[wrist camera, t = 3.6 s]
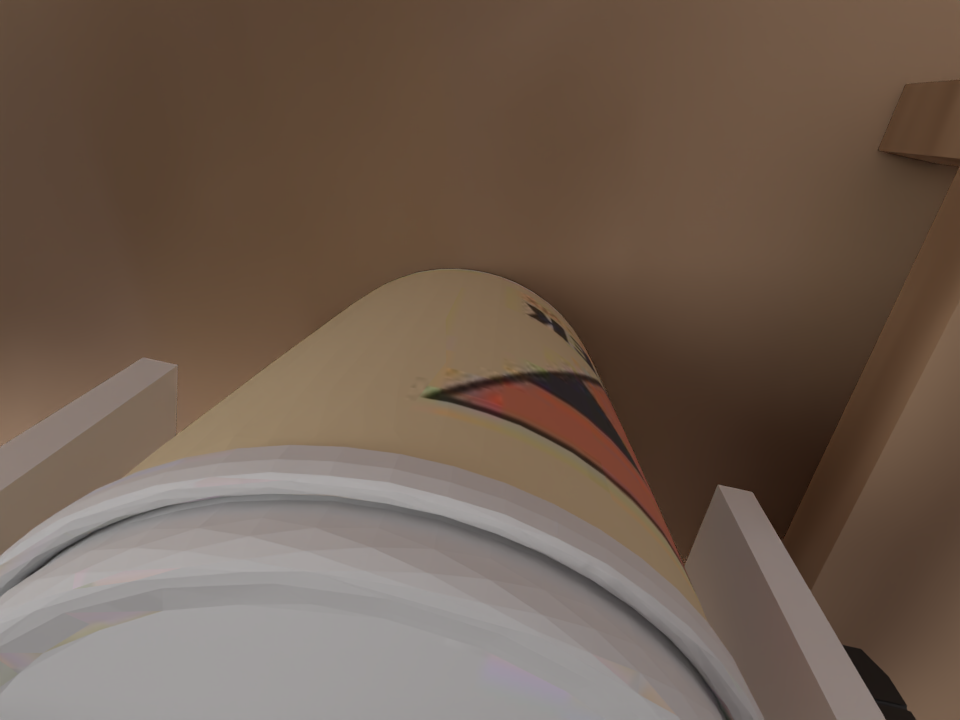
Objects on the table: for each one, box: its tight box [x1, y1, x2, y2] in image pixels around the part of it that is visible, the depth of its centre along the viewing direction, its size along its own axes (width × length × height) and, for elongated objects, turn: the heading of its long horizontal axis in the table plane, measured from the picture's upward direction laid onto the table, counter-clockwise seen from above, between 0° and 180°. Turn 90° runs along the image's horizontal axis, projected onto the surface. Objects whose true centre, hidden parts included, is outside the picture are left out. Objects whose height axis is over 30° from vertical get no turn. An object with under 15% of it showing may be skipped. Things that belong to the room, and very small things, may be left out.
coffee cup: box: [0, 269, 765, 720], centre depth 12 cm, size 9×9×12 cm
